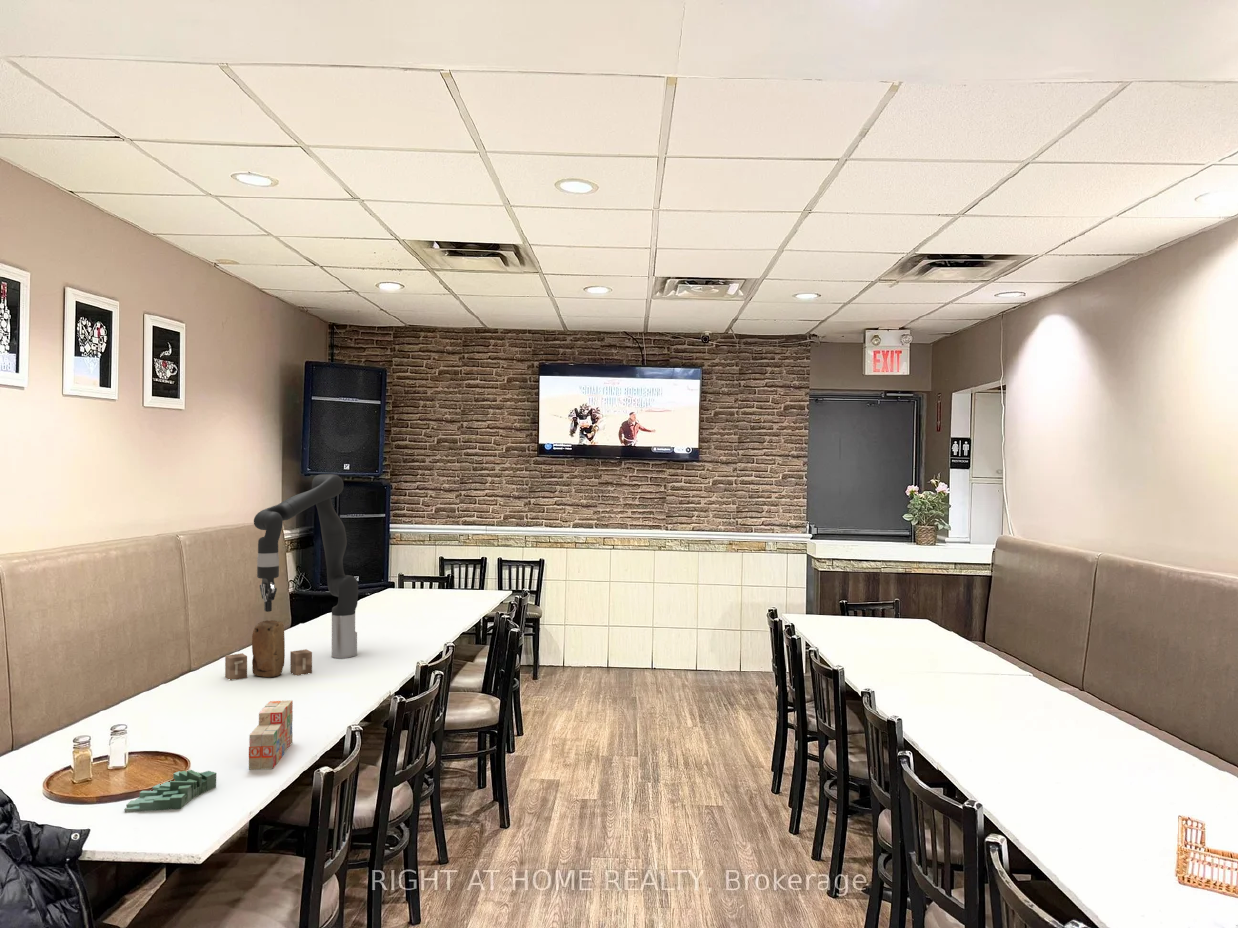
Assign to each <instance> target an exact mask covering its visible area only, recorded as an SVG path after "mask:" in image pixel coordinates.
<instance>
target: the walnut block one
mask: <svg viewBox="0 0 1238 928" xmlns="http://www.w3.org/2000/svg"><path fill="white" fill-rule="evenodd" d="M289 658H290V659H289V660H290V665H289V666H290V667H289V668H290V669H289V670H290V672H291V674H292V673H293V674H292V675H294V676H295V675H297V676H302V675H301V674H304V675H309V674H308V673H310V674H313V652H312V651H310V650H308V649H307V648H306V649H299V650H293V651H292V650H291V651H290V657H289Z"/></svg>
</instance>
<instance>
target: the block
mask: <svg viewBox="0 0 1238 928" xmlns="http://www.w3.org/2000/svg"><path fill="white" fill-rule="evenodd" d="M284 625H285V624H284V622H283V621H280V620H279V621H277V620H272V619H271V620H263V621H260V622H259V623H257V624H255V627H254V628H253V632H252V634H251V649H252V650H251V651H252V660H251V663H252V664H251V665H252V674H253V675H254V676H258V677H264V678H274V677H278V676H280V675H281V674H282V672H283V670H284V666H285V656H286V655H285V653H286V652H285V650H286V649H285V648H286V647H285V646H286V644H285V641H286V640H285V639H286V638H285V626H284Z"/></svg>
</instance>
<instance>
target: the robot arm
mask: <svg viewBox="0 0 1238 928" xmlns="http://www.w3.org/2000/svg"><path fill="white" fill-rule="evenodd" d="M343 489H344V481H343V479H342V477H340V476H339V475H338V474H332V473H331V474H329V473H328V474H326V473H325V474H322V473H321V474H318V475H315V476H314V477H313V478H312V482H311V489H309V490H307V491H303V492H301V493H297V494H295V495H293V496H290V497H289V498H287V499H285V500H283V501H281V502H280V503H278V504H275V505H272V506H270V507H267V508H265V509H262V510H260V511H259V512H257V514H255V516H254V519H253V525H254V526H255V528H257V529H258V530H261V531H265V533H264V536H262V537H260V538H258V541H257V542H258V543H257V558H256V559H257V560H256V562H257V563H256V564H257V565H256V577H257V579H261V583H260V584H259V591H260V594H261V598H262V599H261V600H263V602H264V604H263V608H264V610H263V611H264V612H268V613H269V612H272V608H273V607H272V606H273V605H272V604H273V603H272V602H273V601H274V600H275V597H276V595H277V591H278V588H277V587H276V583H275V579H276V578H279V576H280V557H279V556H280V555H279V541H280V537H281V534H282V530H283V525H284V521H288V520H291V519H293V518H294V517H296V516H297V515H298V514H301V513H302V512H304V511H306V510H307V509H310V508H311V507H313V506H316V509H317V514H318V519H319V524H320V532H321V538H322V544H323V549H324V558H325V565H326V579H327V581H326V582H327V588H328V592H329V593H330V595H332V596H333V597H337V598H338V599H337V604H336V605H335V606H333V607H332V608H331V658H334V659H335V658H336V659H347V658H348V659H349V658H352V657H355V656H358V632H357V631H356V610H357V607H358V601H359V600H358V599H359V583H358V580H357V578H356V577H355V576H353V575H348V574H345V571H344V563H343V561H344V555H345V552H346V549H347V544H348V542H347V539H348V538H347V533H346V528H345V525H344V522H343V521H342V519H341V518H340V516H339V515H338V514H337V512H336V510H335V508H334V505H333V502H332V498H334V497H337V496H339V495H340V494H341V493H342V492H343Z"/></svg>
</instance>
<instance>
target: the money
mask: <svg viewBox="0 0 1238 928" xmlns="http://www.w3.org/2000/svg"><path fill="white" fill-rule="evenodd" d="M172 777H173V778H172V780H173V779H175V781H171V780H169V781H170V782H168V781H166V782H162V783H163V784H161V785H160V783H158V784H156V785H154V786H152V789H154V790H153V791H151V790H141V791H139V797H137V798H136V799H134V800H133V799H132V800H130V801H128V803H126V808H124V812H125V813H134V812H135V813H137V812H144V811H145V812H150V811H151V812H154V811H166V810H167V811H168V810H182V808H184V807H185V805H186V804H188V803H189V802H190V801H191V800H192V799H194V798H196V797H198V796H200V795H202V794H204V793H206V792H208V791H210V790H212V789H215V788H217V772H214V771H211V770H206V771H203V772H198V771H194V770H192V769H189V770H182V771H180V770H179V771H176V772H173V776H172Z"/></svg>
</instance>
